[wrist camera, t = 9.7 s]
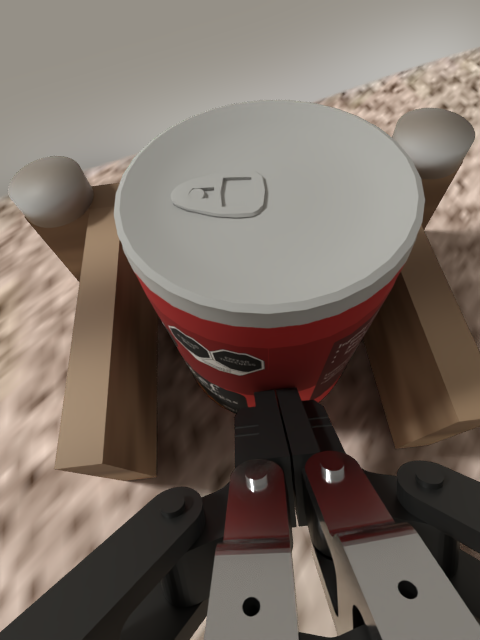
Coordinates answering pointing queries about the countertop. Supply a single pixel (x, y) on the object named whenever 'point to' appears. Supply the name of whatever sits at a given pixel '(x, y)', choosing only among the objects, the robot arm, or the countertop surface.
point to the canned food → (268, 241)
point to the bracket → (142, 320)
